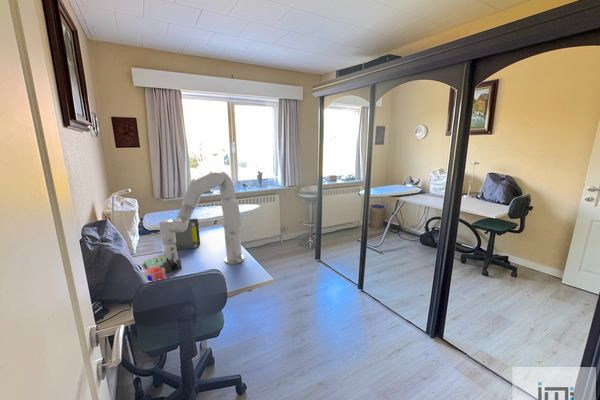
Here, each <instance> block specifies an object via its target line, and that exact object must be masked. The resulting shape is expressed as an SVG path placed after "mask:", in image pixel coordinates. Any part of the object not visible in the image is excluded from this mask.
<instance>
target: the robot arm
mask: <svg viewBox="0 0 600 400" xmlns="http://www.w3.org/2000/svg"><path fill="white" fill-rule="evenodd" d="M217 187H218V188H219V195H220V199H221V201H220V202H221V203H220V204H221V210H222V216H223V229H224V241H225V253H226V256H225V258H224V259H223V261H224V262H225V263H226V264H229V265H236V264H239V263H242V262H243V261H244V260H245V255H243V254H242V241H241V230H240V229H241V225H242V222H241V221H242V219H241V214H240V208H239V207H240V206H239V203H238V201H237V199H236V194H235V187H234V182H233V180H232V178H231V177H230V176H229V175H228V174H227V173H226V172H224V171H223V170H221V169H217V168H216V169H212V170H210V172H209V173H208V174H206V175H203V176H202V177H194V178H192V179H191V181H190V182H189V185H188V187H187V189H186V192H185V195H184V197H183V199H182V202H181V206H180V209H179V211H178V213H177V216H176V218H175V219H171V218H170V219H162V220H161V221H159V223H158V224H159V231H160V238H161V244H162V245H163V249H164V251H163V252H164V256H166V259H167V261H168V260H171V269H172V271H171V272H174V271H177V270H179V269H178V268H177V261H176V258H178V257H179V254H178V249H177V248H176V244H175V242H176V237H175V232H184V231H185V230H186V229H187V227H188V223H189V220H190V219H192V215H193V213H194V211H195V209H196V208H197V207H198V205H199V203H200V200H201V197H202V195H203V194H204V193H206V192H208V191H210V190H212V189H215V188H217ZM173 220H175V221H173ZM172 258H173V259H172ZM172 260H173V262H172ZM173 270H174V271H173Z"/></svg>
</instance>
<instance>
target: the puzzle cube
mask: <svg viewBox="0 0 600 400" xmlns="http://www.w3.org/2000/svg"><path fill="white" fill-rule="evenodd" d="M142 274H143V275H144V277H145V278H146V280H147V281H154V280H158V279H164V278H166V279H167V275H166V273H165V269H164V267H159V266H155V265H154V266H152V267H150V268H146V269H144V270H142V271H141V275H142Z"/></svg>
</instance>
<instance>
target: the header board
mask: <svg viewBox="0 0 600 400" xmlns="http://www.w3.org/2000/svg"><path fill="white" fill-rule="evenodd" d="M172 259H173V258H172ZM165 261H167V259H166V256H165V255H163V254H162V255H160V256H159V257H158V256H155V257H154V258H151V259H146V260H144V261H143V264H144V266H145V265H146V266H145V267H146V269H148V268H150V267H152V266H154V265H155V266H159V267H163V262H165Z"/></svg>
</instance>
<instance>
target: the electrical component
mask: <svg viewBox="0 0 600 400" xmlns="http://www.w3.org/2000/svg"><path fill="white" fill-rule="evenodd" d="M172 220H173V221H175V220H176V219H172ZM199 227H200V226H199V219H198V218H190V220H189V223H188V227H187V229H186V230H185V231H184V232H175V237H176V242H175V244H176V248H177V250H184V249H193V248H195V249H197V248H200V245H201V237H200V229H199Z"/></svg>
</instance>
